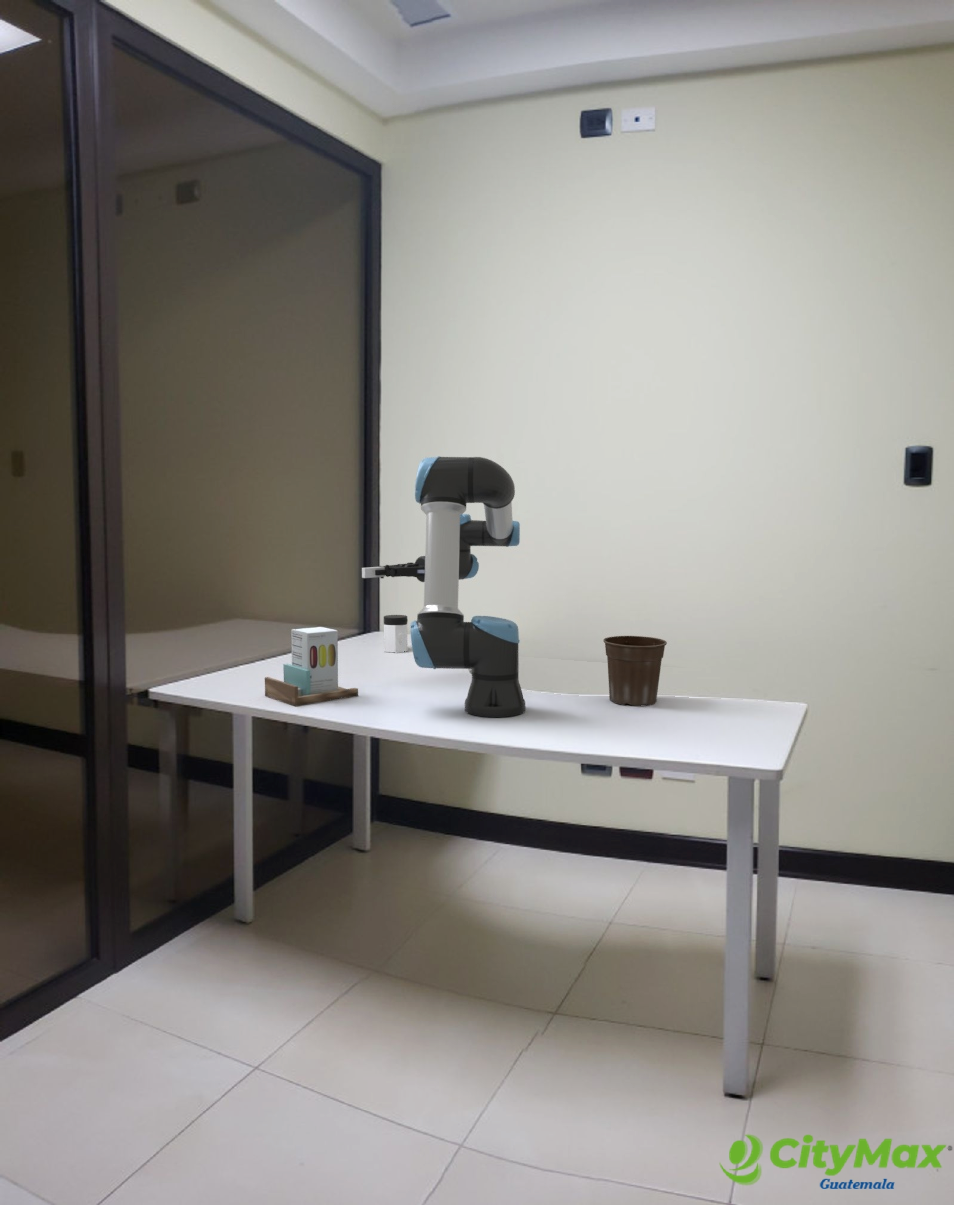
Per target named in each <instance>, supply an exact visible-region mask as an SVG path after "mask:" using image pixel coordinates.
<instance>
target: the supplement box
mask: <svg viewBox="0 0 954 1205" xmlns="http://www.w3.org/2000/svg"><path fill="white" fill-rule="evenodd" d="M338 636H339V632H338V630H337V629H332V628H328V627H323V626H317V627H303V628H292V629H291V665H294V666H297V667H301V668H304V669H308V670H310V685H311V695H312V694H318V693H324V692H331V691H337V690H338V686H339V650H338V649H339V648H338V647H339V643H338V641H339V639H338V638H339V637H338Z"/></svg>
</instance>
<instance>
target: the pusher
mask: <svg viewBox="0 0 954 1205" xmlns="http://www.w3.org/2000/svg"><path fill="white" fill-rule="evenodd" d="M282 665H283V670H282V671H283V682H286V683H289V684H292V685H295V686H298V696H305V695H311V685H310V670H308V669H304V668H301V667H297V666H294V665H292V664H289V663H283V664H282Z"/></svg>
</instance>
